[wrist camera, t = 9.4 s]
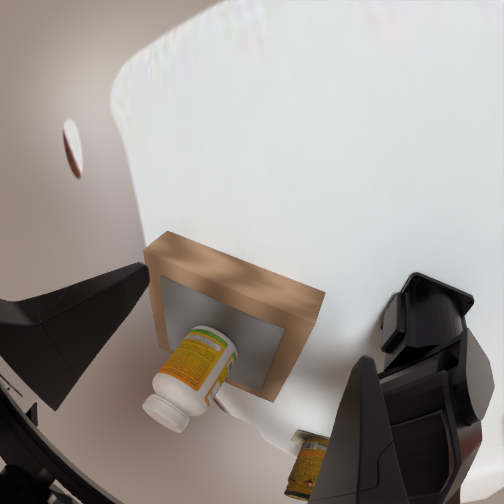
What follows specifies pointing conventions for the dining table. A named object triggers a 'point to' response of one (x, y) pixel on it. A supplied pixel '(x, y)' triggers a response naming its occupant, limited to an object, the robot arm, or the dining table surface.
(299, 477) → the condiment
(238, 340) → the framed mirror
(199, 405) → the supplement bottle
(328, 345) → the dining table surface
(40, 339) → the robot arm
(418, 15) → the dining table surface
